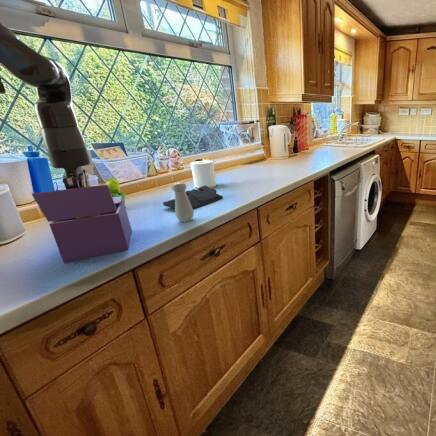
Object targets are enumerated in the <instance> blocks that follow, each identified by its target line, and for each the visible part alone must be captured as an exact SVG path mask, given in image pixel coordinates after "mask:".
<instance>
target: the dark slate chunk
mask: <svg viewBox="0 0 436 436" xmlns="http://www.w3.org/2000/svg"><path fill="white" fill-rule="evenodd" d="M185 192H186V194H187V196H188V199H189V201H190V204H191V206H192V209H193V210H196V209H199V208H200V207H203V206H204V207H205V206H206V205H210V204H211V203H215V202H217V201H219V200H221V199H223V198H224V196H223V195H220V194H219V193H217V192H218V191H217V189H215V188H213V187H207V186H202V187H200V188H193V189H190V190H185ZM209 203H210V204H209ZM162 205H163V206H164V207H167V208H173V209H175V198H173V199H169V200H166V201H163V202H162Z"/></svg>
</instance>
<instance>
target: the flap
mask: <svg viewBox="0 0 436 436" xmlns="http://www.w3.org/2000/svg"><path fill="white" fill-rule="evenodd" d="M31 196H32V197H33V199H34V200H35V202H36V204H37V206H38V208H39V210H41V212H42V214H43V215H44V217H45V219H46V220H47V222H49V223H51V222H52V221H57V220H64V219H70V218H77V217H83V216H90V215H96V214H103V213H109V212H115V211H117V209H116V206H115V203H114V201H113V198H112V195H111V193H110V190H109V188H108V185H105V184H100V185H92V186H91V185H90V187H82V188H74V189H66V188H65V189H58V190H49V191H42V192H33V193H31Z"/></svg>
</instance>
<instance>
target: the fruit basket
mask: <svg viewBox="0 0 436 436" xmlns="http://www.w3.org/2000/svg"><path fill="white" fill-rule="evenodd" d="M104 185H108V188H109V190H110V193H111V195H112V197H120V196H122V199H123V200H124V204H125V203H126V193H125V192H124V193H123V192H120V191H121V187H120V182H119V181H118V180H117V177H115V178H113V177H110V178H109V179H108V181H107V182H106V183H105V184H104ZM125 205H126V204H125Z"/></svg>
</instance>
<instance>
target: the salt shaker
mask: <svg viewBox="0 0 436 436" xmlns="http://www.w3.org/2000/svg"><path fill="white" fill-rule="evenodd" d="M171 190H172V191H173V192H174V199H175V208H174V216H175V218H176V219H177V220H178V222H180V223H189V222H191V221H192V220H193V218H194V214H195V211H194V209H192V206H191V204H190V201H189V199H188V196H187V194H186V190H187V185H186V183H185V182H175V183H172V184H171Z"/></svg>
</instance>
